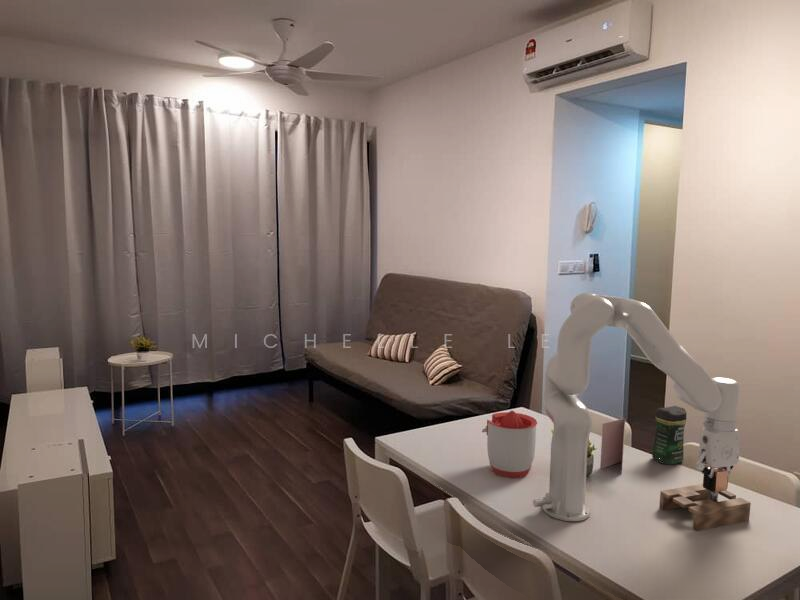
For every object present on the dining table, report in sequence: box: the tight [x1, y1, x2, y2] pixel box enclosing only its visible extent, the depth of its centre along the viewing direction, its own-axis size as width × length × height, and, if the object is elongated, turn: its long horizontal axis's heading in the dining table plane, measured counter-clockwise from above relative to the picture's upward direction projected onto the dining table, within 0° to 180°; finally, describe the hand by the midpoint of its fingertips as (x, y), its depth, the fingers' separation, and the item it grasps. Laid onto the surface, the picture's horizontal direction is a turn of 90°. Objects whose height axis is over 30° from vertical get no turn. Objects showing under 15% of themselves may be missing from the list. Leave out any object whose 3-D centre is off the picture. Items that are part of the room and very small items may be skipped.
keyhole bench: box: [658, 483, 752, 531], centre depth 159 cm, size 18×13×5 cm
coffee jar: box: [651, 405, 688, 465], centre depth 196 cm, size 10×8×19 cm
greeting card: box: [599, 417, 626, 475], centre depth 190 cm, size 11×7×15 cm, turn 122°
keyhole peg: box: [708, 467, 729, 502], centre depth 160 cm, size 5×5×12 cm
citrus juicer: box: [481, 410, 538, 479], centre depth 186 cm, size 16×17×20 cm
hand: (715, 487), depth 160 cm, fingers closed on keyhole peg, 4 cm apart
